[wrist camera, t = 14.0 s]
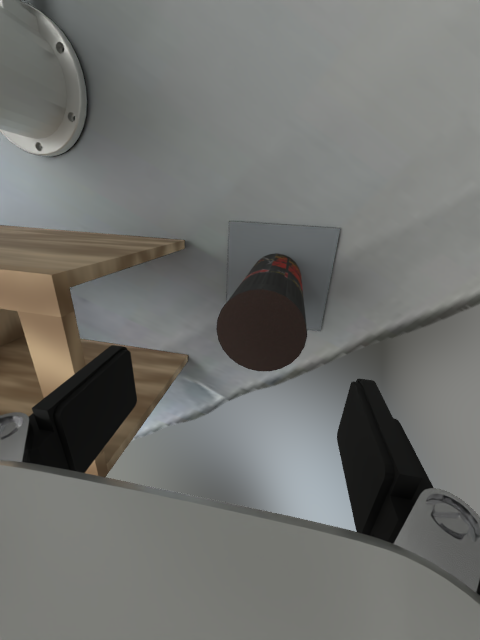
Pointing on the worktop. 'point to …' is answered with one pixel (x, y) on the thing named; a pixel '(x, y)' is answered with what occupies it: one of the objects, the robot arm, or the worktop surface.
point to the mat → (295, 242)
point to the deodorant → (265, 316)
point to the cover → (69, 321)
